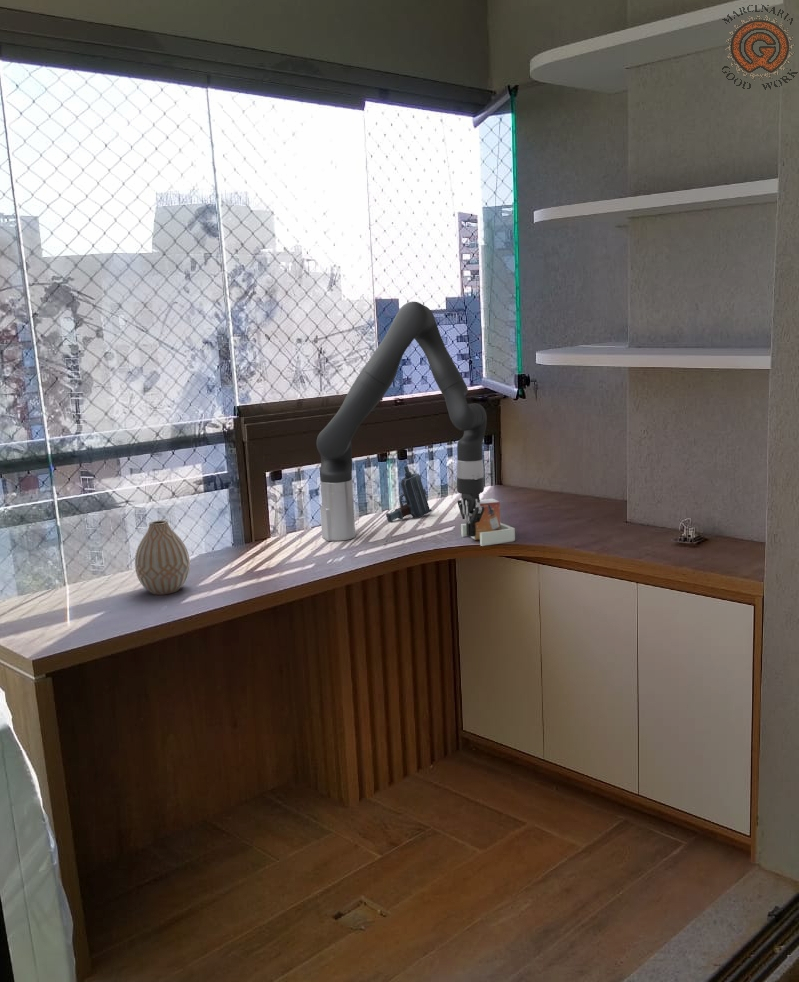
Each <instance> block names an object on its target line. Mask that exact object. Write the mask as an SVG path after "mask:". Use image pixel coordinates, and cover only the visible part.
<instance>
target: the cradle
mask: <svg viewBox="0 0 799 982" xmlns="http://www.w3.org/2000/svg"><path fill="white" fill-rule="evenodd" d="M460 529H461V530H460V534H461V535H460V536H461V537H462V538H464V537H468V536H467V535H466V523H461V524H460ZM515 531H516V529H515V527H512V526H511V525H508V524H505V523H502V522H500V530H495V531H488V532H482V533H480V539H479V546H480V547H481V546H482V547H484V546H491V545H498V544H504V543H511V542H514V541H515V540H516V533H515Z"/></svg>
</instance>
